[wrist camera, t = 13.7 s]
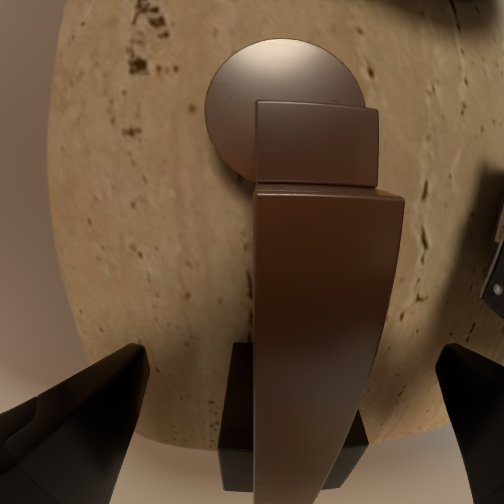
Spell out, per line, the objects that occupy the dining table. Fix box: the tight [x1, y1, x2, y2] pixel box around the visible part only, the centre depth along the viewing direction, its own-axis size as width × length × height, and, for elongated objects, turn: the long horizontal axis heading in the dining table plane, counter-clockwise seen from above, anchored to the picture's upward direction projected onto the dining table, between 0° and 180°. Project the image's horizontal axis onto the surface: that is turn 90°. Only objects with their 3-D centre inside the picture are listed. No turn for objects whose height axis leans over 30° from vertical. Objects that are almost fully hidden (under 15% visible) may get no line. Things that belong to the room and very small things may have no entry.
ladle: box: [204, 38, 405, 504], centre depth 8 cm, size 18×5×8 cm, turn 0°
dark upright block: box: [217, 342, 369, 492], centre depth 11 cm, size 4×5×6 cm
